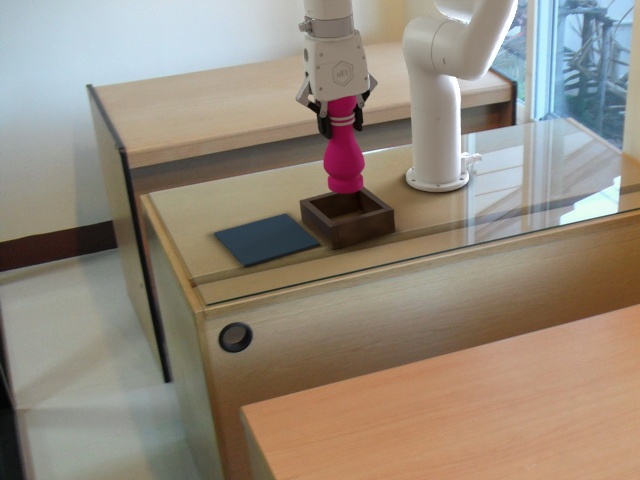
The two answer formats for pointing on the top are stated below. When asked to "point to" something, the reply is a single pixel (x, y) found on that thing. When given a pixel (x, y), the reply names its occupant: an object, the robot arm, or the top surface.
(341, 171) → the pepper mill
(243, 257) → the mat
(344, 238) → the stand
